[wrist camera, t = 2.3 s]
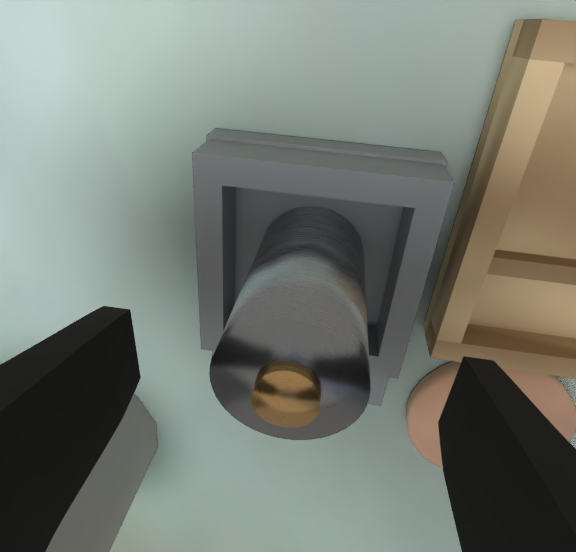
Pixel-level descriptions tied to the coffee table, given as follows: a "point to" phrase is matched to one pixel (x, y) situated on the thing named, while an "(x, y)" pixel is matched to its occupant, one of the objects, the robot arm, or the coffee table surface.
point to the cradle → (329, 194)
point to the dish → (437, 386)
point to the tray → (517, 218)
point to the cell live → (298, 331)
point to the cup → (109, 486)
